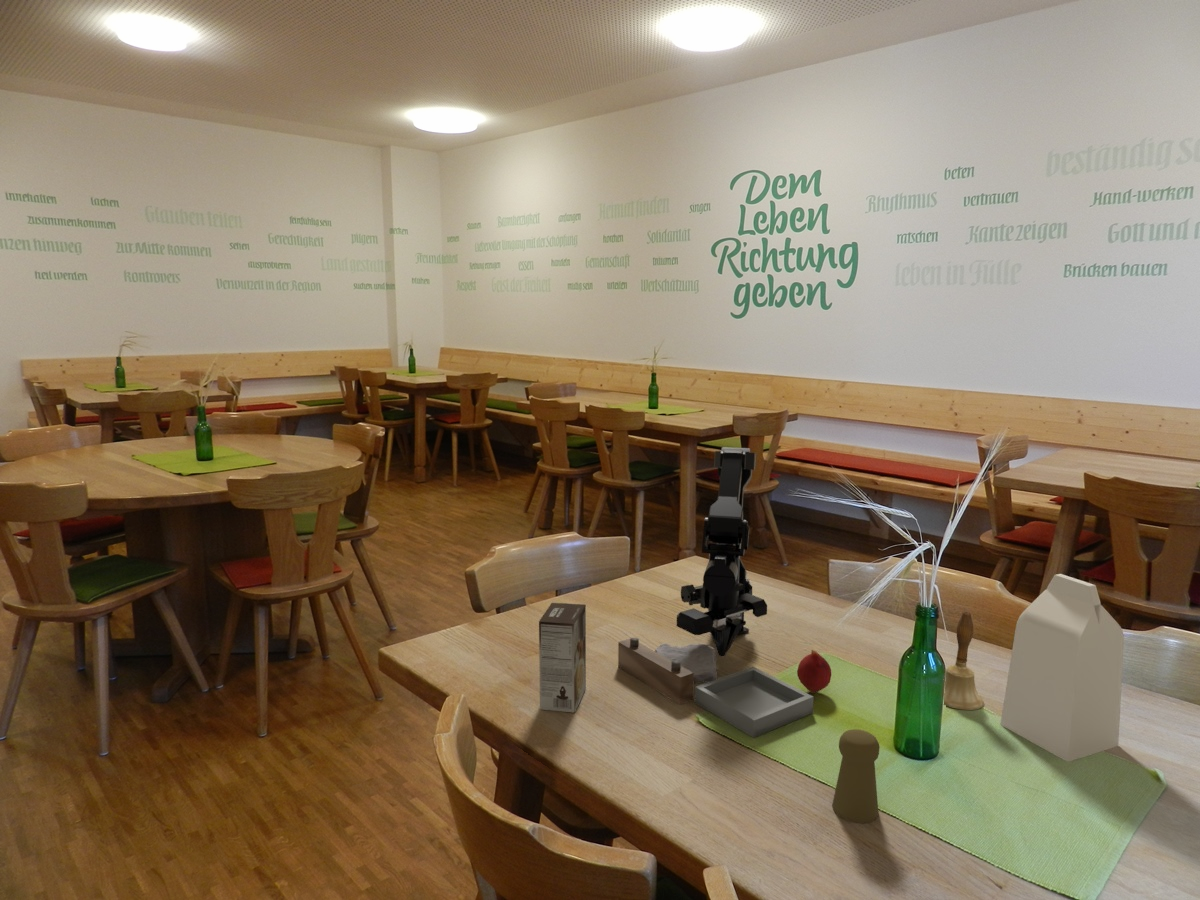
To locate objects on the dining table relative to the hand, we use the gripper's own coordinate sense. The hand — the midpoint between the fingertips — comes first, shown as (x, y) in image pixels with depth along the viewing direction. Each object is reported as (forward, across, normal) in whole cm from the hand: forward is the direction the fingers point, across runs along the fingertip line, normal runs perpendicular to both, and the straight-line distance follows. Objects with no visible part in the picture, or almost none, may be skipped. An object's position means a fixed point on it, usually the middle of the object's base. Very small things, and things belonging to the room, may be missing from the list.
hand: (721, 655), depth 154 cm
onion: (+2, -5, +18) cm, 19 cm away
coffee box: (+2, +33, -5) cm, 33 cm away
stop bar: (+2, +16, -1) cm, 16 cm away
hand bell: (+2, -24, +34) cm, 42 cm away
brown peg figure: (+2, +17, +44) cm, 47 cm away
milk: (+2, -26, +50) cm, 57 cm away
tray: (+2, +8, +16) cm, 18 cm away
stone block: (+2, +8, -1) cm, 8 cm away
